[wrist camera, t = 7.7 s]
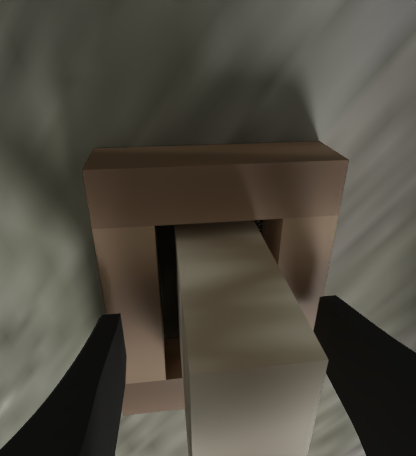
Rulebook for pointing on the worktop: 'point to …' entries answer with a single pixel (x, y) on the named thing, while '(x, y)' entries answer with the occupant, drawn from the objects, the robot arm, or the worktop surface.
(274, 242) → the holder
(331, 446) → the worktop surface
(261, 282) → the peg
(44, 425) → the robot arm
